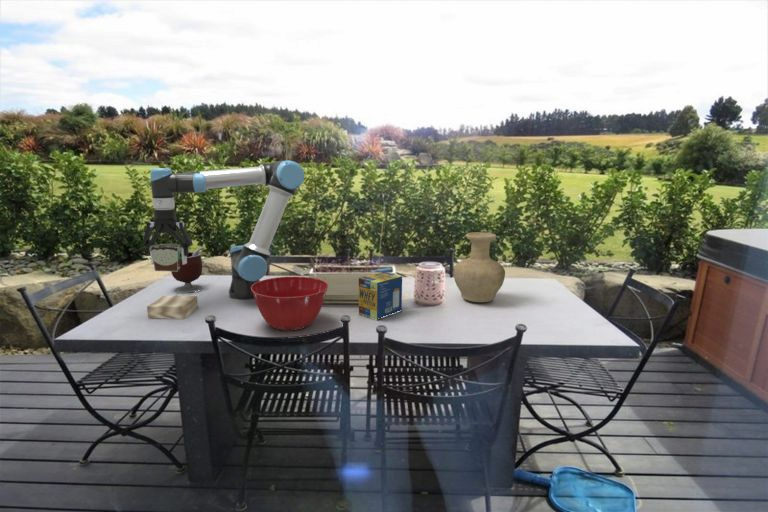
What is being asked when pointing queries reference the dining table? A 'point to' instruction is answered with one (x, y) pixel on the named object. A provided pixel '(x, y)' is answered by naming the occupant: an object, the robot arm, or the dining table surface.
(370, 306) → the protein box
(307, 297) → the mixing bowl
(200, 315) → the dining table surface
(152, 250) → the food container
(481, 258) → the vase
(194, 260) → the mate gourd
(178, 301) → the birch platform
